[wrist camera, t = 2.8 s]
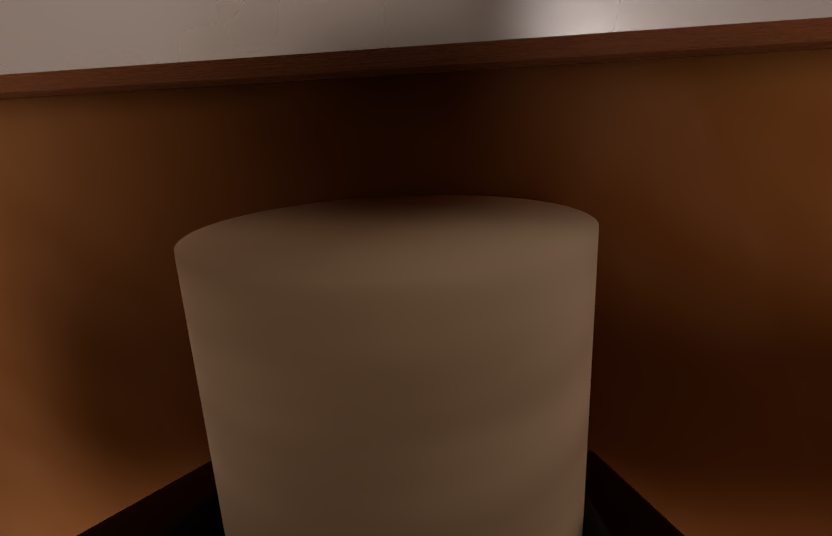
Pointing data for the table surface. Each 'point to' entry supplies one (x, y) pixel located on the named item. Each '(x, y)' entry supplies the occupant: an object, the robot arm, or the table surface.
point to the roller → (396, 365)
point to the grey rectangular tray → (368, 38)
